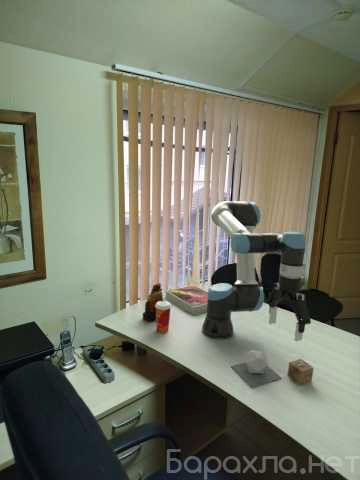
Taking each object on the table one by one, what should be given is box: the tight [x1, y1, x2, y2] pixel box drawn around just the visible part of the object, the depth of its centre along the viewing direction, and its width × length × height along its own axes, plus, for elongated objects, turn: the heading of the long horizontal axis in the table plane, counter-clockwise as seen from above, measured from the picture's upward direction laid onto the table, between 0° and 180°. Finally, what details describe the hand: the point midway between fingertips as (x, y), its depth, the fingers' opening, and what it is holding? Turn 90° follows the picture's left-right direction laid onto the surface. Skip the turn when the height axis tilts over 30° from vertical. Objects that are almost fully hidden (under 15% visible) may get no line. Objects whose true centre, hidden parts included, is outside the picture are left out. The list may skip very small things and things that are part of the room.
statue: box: [142, 282, 164, 323], centre depth 154 cm, size 12×8×20 cm, turn 129°
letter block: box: [287, 358, 314, 387], centre depth 112 cm, size 6×6×6 cm
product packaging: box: [165, 284, 208, 316], centre depth 179 cm, size 22×28×5 cm
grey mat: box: [230, 361, 282, 389], centre depth 115 cm, size 13×14×1 cm
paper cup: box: [155, 300, 172, 334], centre depth 143 cm, size 8×8×14 cm
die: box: [244, 350, 270, 374], centre depth 114 cm, size 8×9×10 cm
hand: (284, 331), depth 109 cm, fingers open, 13 cm apart
